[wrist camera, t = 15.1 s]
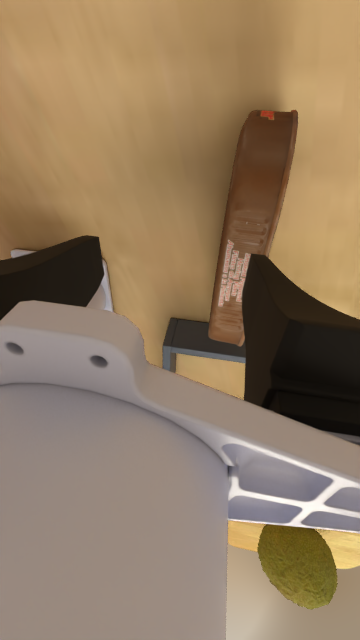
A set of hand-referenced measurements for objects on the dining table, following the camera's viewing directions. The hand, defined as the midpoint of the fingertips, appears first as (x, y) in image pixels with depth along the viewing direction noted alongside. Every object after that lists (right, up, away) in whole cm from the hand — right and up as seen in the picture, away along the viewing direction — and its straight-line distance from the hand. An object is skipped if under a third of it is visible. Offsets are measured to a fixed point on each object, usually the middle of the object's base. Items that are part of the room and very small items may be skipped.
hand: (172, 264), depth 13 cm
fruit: (+27, -49, +50) cm, 75 cm away
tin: (+5, +5, +9) cm, 11 cm away
